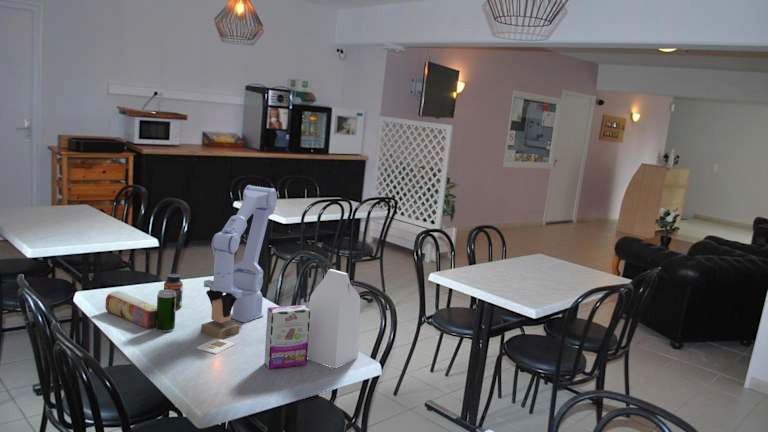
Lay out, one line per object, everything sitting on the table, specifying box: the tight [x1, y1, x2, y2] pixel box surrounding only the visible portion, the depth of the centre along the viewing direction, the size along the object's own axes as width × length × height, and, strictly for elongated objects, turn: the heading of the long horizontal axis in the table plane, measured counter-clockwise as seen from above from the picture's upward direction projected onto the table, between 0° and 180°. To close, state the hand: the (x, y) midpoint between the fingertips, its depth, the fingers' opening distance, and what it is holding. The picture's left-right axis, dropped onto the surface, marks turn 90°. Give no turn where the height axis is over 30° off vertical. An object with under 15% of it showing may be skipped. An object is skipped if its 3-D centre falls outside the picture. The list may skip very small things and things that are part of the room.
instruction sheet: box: [195, 338, 236, 355], centre depth 177 cm, size 9×7×1 cm
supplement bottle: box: [163, 273, 184, 311], centre depth 203 cm, size 6×6×11 cm
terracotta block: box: [211, 298, 232, 323], centre depth 186 cm, size 4×4×6 cm
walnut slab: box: [200, 320, 240, 340], centre depth 187 cm, size 8×8×3 cm
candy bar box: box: [264, 304, 310, 370], centre depth 169 cm, size 11×5×16 cm, turn 117°
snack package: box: [104, 290, 157, 330], centre depth 191 cm, size 21×7×7 cm, turn 58°
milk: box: [307, 268, 361, 369], centre depth 176 cm, size 12×12×26 cm
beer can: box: [155, 288, 176, 333], centre depth 184 cm, size 5×5×12 cm
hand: (221, 314), depth 186 cm, fingers closed on terracotta block, 4 cm apart
